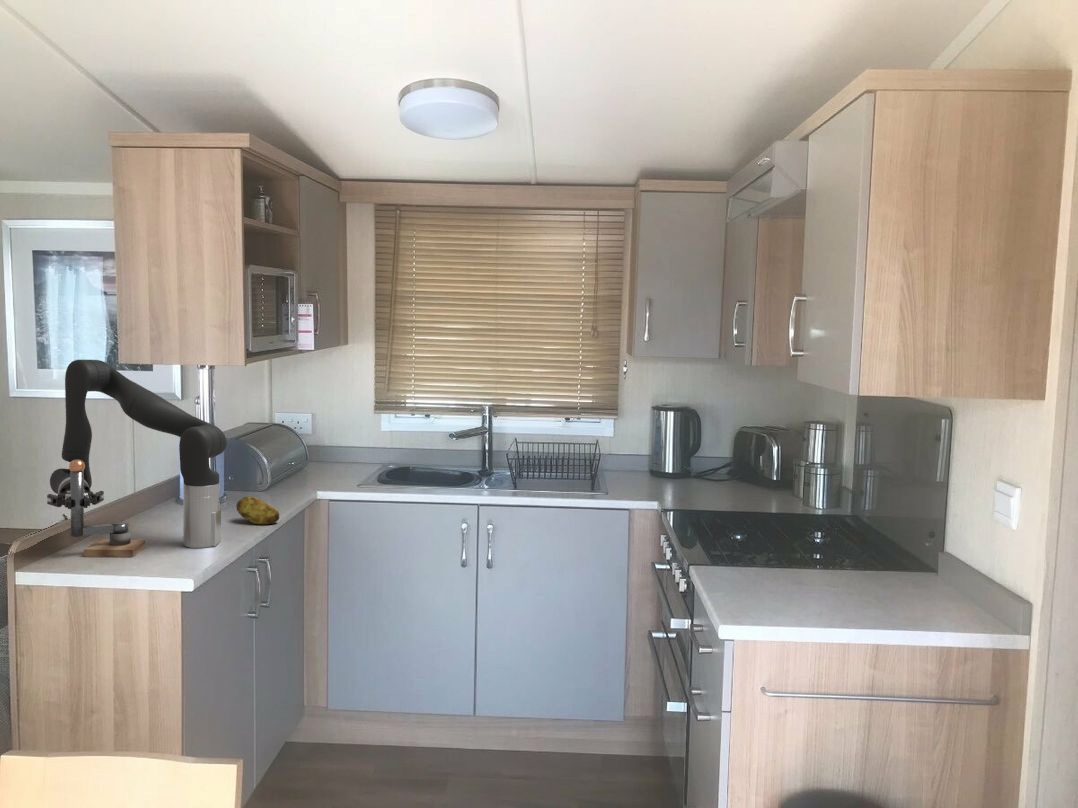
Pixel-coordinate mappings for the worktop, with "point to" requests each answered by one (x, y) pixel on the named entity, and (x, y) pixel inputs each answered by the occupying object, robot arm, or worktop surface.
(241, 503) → the potato
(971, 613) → the worktop surface
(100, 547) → the cracker base
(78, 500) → the lever
